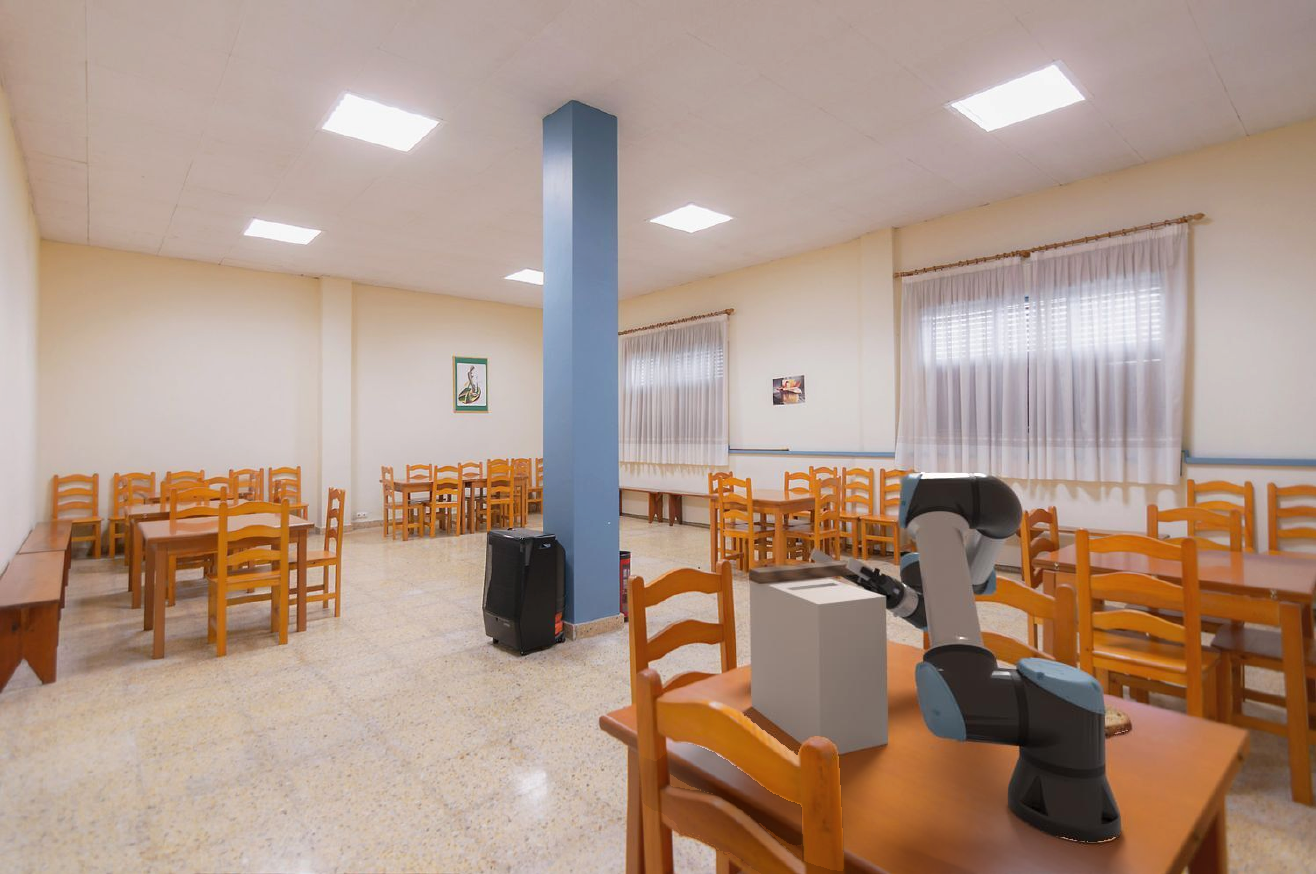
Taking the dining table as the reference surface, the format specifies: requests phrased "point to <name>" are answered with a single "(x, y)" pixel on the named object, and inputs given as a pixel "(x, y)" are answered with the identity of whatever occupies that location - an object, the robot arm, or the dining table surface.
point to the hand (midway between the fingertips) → (829, 557)
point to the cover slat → (799, 572)
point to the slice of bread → (1116, 720)
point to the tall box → (820, 661)
